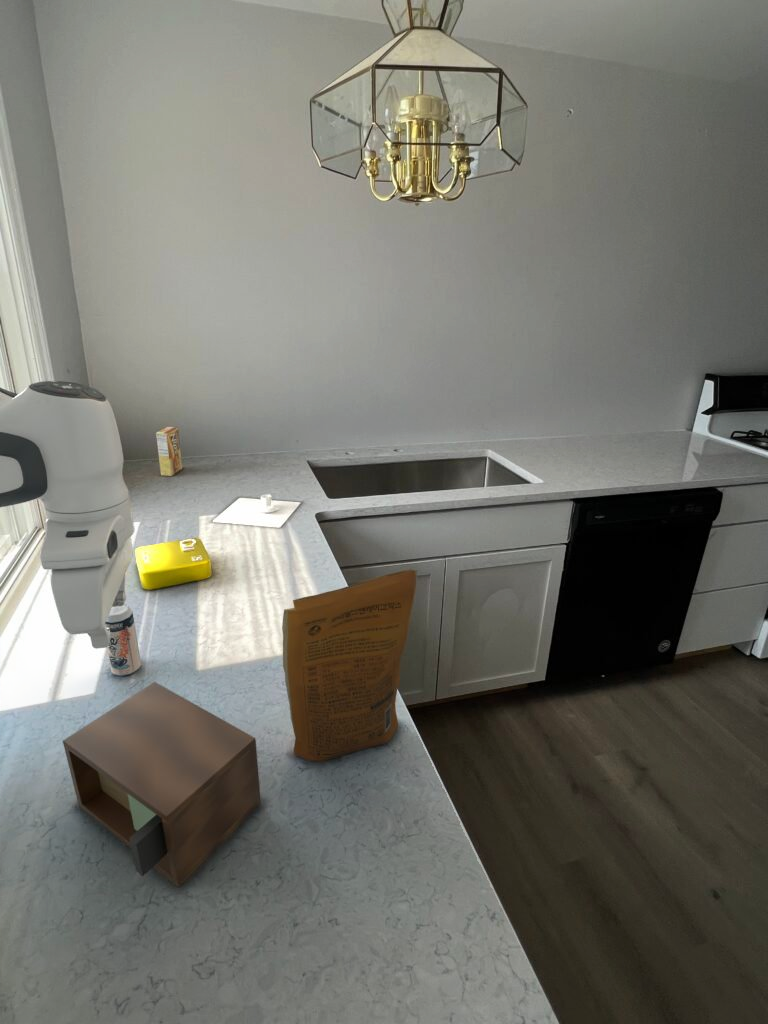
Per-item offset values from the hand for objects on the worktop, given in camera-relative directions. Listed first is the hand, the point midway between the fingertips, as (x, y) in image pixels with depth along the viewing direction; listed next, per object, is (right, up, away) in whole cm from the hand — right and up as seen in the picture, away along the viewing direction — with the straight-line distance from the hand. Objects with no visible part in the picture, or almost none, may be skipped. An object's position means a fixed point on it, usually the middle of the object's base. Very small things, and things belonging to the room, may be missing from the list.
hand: (111, 622), depth 71 cm
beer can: (-10, -13, +26) cm, 31 cm away
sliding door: (+7, -25, -7) cm, 27 cm away
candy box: (-41, +28, +127) cm, 136 cm away
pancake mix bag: (+30, -20, +11) cm, 38 cm away
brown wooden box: (+8, -23, +1) cm, 25 cm away
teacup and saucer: (-3, +14, +94) cm, 95 cm away
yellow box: (-14, 0, +59) cm, 61 cm away
